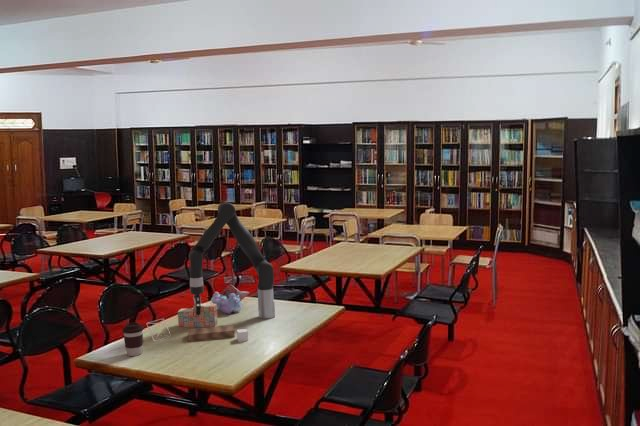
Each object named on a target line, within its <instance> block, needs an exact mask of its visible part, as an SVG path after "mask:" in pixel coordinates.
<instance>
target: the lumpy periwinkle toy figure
mask: <svg viewBox="0 0 640 426" xmlns="http://www.w3.org/2000/svg"><path fill="white" fill-rule="evenodd" d="M249 294H251V292H249V291H243V290H242V291H240V290H239V289H238V288H236V287H235V286H234V285H232V284H231V283H229V284H228V285H227V286H225V287H224V288H223V290H221V291H220V292H218V291H214V294H212V297H211V298H210V301H211V302H212V304H217V310H220V311H221V312H223V313H224V314H225V315H231V313H232V312H233V313H238V312H240V311H241V310H242V307H243V304H242V302H241V301H243V300H244V299H245V298H246V297H248V295H249Z"/></svg>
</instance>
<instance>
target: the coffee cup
mask: <svg viewBox="0 0 640 426" xmlns="http://www.w3.org/2000/svg"><path fill="white" fill-rule="evenodd" d="M121 329H122V331H121V332H122V333H123V339H124V341H123V342H124V347H125V351H126V355H127V356H128V357H136V356H140V355H142V353H143V343H144V341H143V340H144V339H143V338H144V337H143V335H144V334H143V331H144V325H142V324H141V323H139V322H128V323H127V324H125V326H124V327H123V328H121Z"/></svg>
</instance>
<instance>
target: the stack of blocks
mask: <svg viewBox="0 0 640 426" xmlns="http://www.w3.org/2000/svg"><path fill="white" fill-rule="evenodd" d="M200 305H201V308H200V315H197V314H196V305H195V304H194V305H193V306H192V308H180V309H179V310H178V311H177V320H178V321H177V323H178V325H177V326H178V328H209V327H217V325H218V308H217V304H213V303H201V304H200ZM197 306H199V305H197Z"/></svg>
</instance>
